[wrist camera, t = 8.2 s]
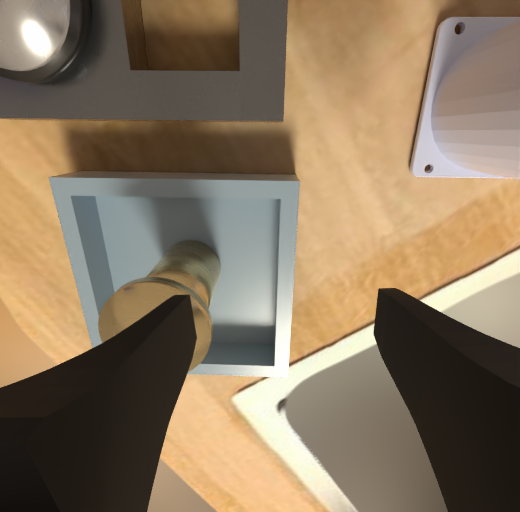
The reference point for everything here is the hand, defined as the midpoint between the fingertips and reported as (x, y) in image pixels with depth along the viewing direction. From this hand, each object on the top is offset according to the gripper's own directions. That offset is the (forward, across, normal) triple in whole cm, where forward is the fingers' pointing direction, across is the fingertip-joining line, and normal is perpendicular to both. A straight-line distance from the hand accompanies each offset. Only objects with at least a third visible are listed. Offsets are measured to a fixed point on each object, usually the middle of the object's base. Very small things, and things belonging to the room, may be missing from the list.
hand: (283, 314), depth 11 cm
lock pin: (+9, +6, +2) cm, 11 cm away
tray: (+10, +6, +3) cm, 12 cm away
